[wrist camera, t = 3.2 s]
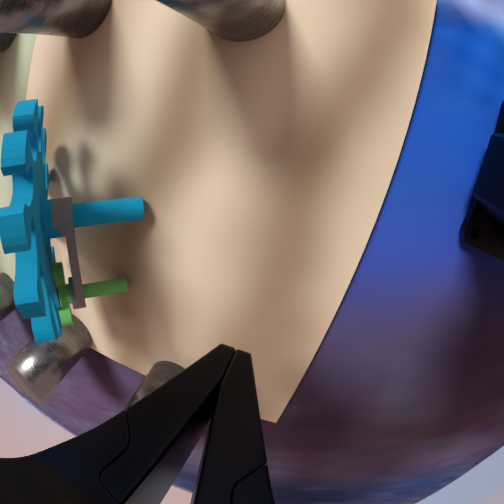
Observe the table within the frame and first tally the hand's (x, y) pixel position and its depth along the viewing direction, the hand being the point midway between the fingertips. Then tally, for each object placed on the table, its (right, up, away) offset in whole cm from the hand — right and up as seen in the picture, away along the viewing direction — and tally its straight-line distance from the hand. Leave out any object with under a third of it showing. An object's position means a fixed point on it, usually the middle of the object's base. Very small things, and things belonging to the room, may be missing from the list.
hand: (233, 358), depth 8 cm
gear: (-8, +5, +6) cm, 11 cm away
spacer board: (-9, +7, +6) cm, 13 cm away
